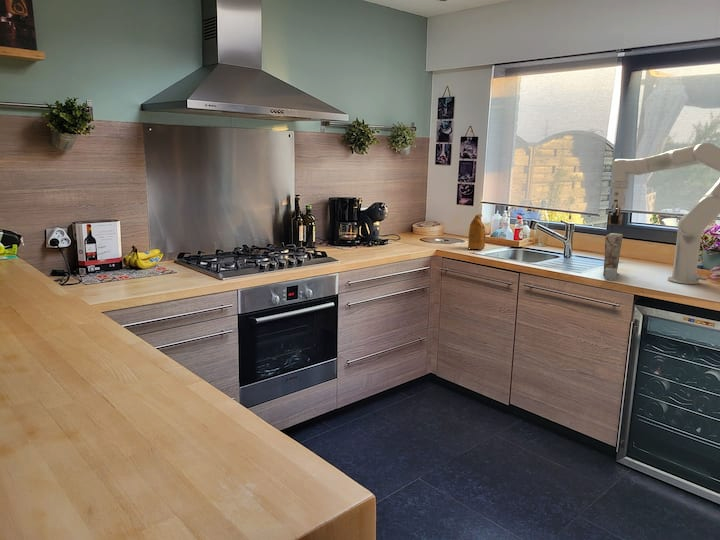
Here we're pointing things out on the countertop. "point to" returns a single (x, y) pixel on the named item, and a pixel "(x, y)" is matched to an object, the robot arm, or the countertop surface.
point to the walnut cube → (618, 219)
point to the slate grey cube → (610, 273)
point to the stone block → (612, 250)
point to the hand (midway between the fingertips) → (615, 222)
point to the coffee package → (477, 234)
